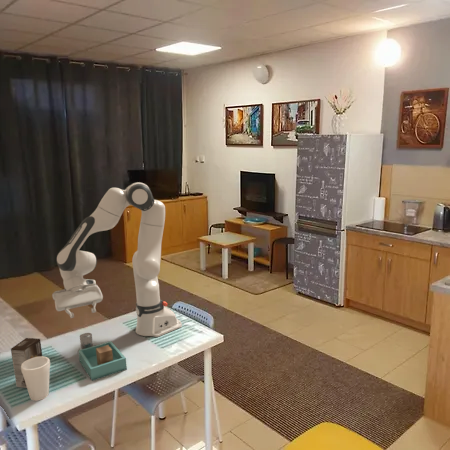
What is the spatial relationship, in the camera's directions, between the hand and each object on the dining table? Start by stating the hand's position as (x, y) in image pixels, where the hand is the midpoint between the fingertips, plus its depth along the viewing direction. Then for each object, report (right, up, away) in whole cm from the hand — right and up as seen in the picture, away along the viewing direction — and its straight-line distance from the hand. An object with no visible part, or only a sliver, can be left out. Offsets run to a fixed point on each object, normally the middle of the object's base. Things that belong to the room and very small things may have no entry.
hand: (83, 314), depth 183 cm
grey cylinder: (+2, -17, +1) cm, 17 cm away
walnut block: (+14, -18, -14) cm, 27 cm away
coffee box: (-13, -22, -21) cm, 33 cm away
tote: (+12, -19, -11) cm, 24 cm away
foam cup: (-6, -23, -30) cm, 38 cm away
